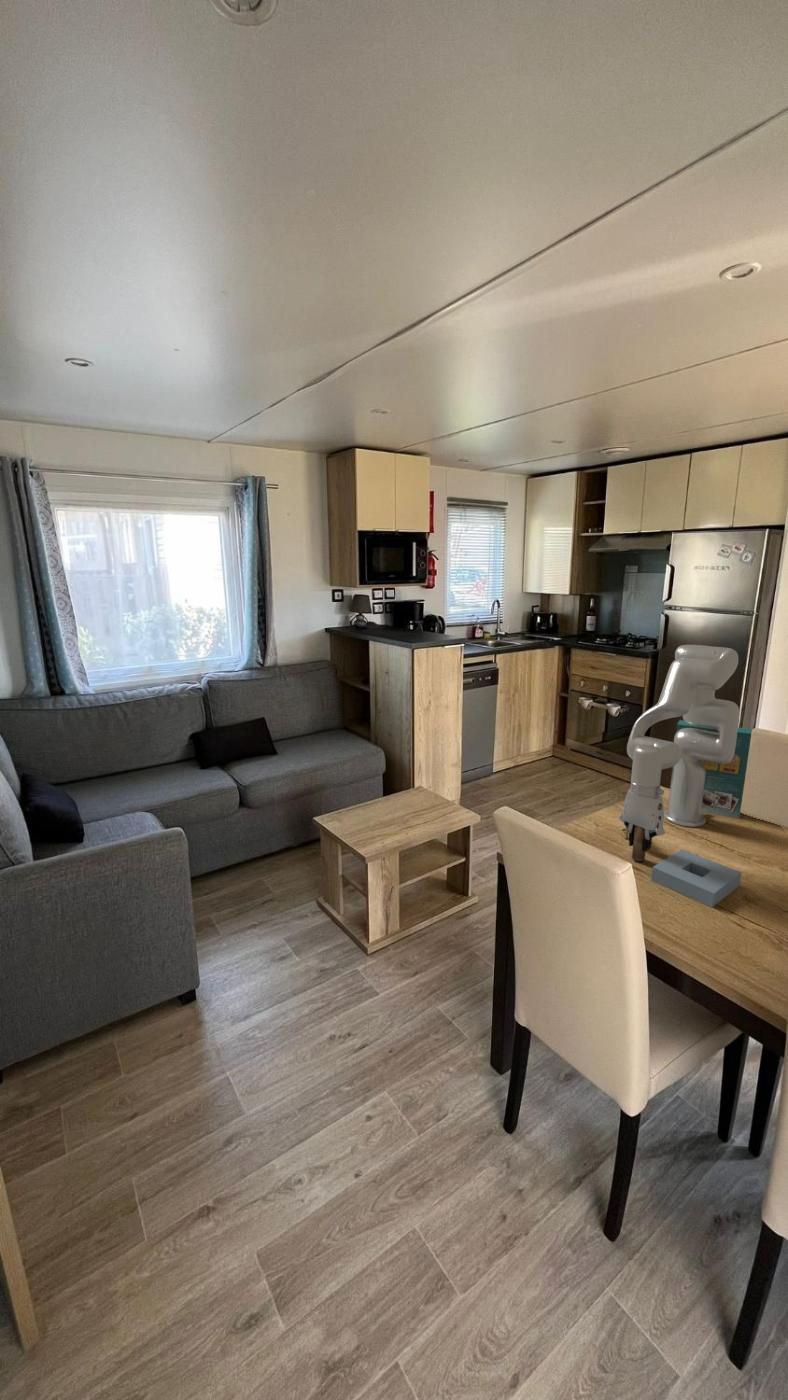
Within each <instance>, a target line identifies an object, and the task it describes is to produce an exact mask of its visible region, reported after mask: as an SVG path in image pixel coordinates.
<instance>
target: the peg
mask: <svg viewBox="0 0 788 1400" xmlns="http://www.w3.org/2000/svg"><path fill="white" fill-rule="evenodd" d="M644 838H645V829H644V828H642V827H639V826H636V825H635V830H634V841H633V846H632V853H631V858H632V860H634V861H636V862H644V861H645V859H646V851H645V852H644V851H642V845H643V839H644Z"/></svg>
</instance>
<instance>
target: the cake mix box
mask: <svg viewBox="0 0 788 1400" xmlns="http://www.w3.org/2000/svg"><path fill="white" fill-rule="evenodd" d="M683 728H694V729H700V730H705V731H710V732H715V733H719V732H718V730H716V729H712V728H706V727H701V726H695V725H691V724H688V723H686V722H685V721H684V720H683V719H682V720H681V719H679V721H678V722H677V725H676V733H677V732H678V731H679V730H680V729H683ZM752 733H753V729H752V728H744V727H738V732H737V740H736V747H735V753H734V756H733V759H732V760H731V762H729V763H727V764H719V763H714V762H709V761H705V760H701V761H702V763H703V764H704V766H705V769H706V779H705V787H704V795H703V803H704V805H705V807H704V808H702V811H701V812H703V813H704V812H705V813H710V814H715V815H721V816H725V817H730V818H734V819H740V816H741V809H742V802H743V796H744V795H743V794H744V788H745V783H746V782H745V781H746V776H747V775H746V774H747V769H748V763H749V762H748V761H749V753H750V747H751V740H752ZM673 774H674V766H673V767H672V768H671V778H670V787H669V794H668V795H669V796H668V805H669V806H670V800H671V792H672V783H673Z"/></svg>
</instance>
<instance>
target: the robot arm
mask: <svg viewBox="0 0 788 1400" xmlns="http://www.w3.org/2000/svg"><path fill="white" fill-rule="evenodd" d="M674 659H675V660H673V661H672V663H671V664H670V666H669V668H668V672H667V674H666V677H665V681H664V684H663V687H662V690H661V693H660V696H659V698H658V702H656V704H655V705H653V706H652V707H650V708H649V709H647V710H646V711H644V712H643V713H642V714H640V716H639V717H638V718H637V719H636V721H635V722H634V724H633V725H632V729H631V731H630V735H629V737H628V741H627V743H626V753H627V755H628V757H629V758H630V759H631V760H632V766H631V777H630V778H631V779H630V788H628V790H627V793H626V796H625V800H624V803H623V811H622V813H621V814H620V815H619V817H618V819H619V820H620V821H621V822H622V823H623V824H624V826H625V828H626V827H627V829H628V830H627V831H628V846H629V847H633V841H634V830H635V825H636V826H639V827H642V828H644V829H645V838H644V839H643V845H642V851H644V852H645V853H646V852H647V851H648V850H650V849H651V848H652V843H653V842H652V841H653V838H654V837H660V836H663V835H665V834H666V830H665V828H664V826H663V825H664V818H665V819H666V820H667V821H668V822H671V823H673V824H675V825H678V826H683V827H694V828H695V827H696V828H697V827H701V826H703V825H705V824H706V820H707V819H706V817H705V816H704V815H703V813H702V812H703V811H702V808H704V807H705V805H704V803H703V795H704V787H705V779H706V769H705V766H704V764H703V763H702V761H701V760H705V761H709V762H714V763H719V764H727V763H729V762H731V760H732V759H733V756H734V753H735V747H736V740H737V732H738V728H739V723H740V708H739V706H738V704H737V703H736V702H734V701H731V700H727V699H726V700H725V699H720V698H716V697H715V695H716V694H715V693H716V691H717V690H719V689H720V688H722V687H723V686H724V685H725V683H727V681H728V680H729V679H730V678H731V677H732V676H733V675H734V673H735V672H736V669H737V667H738V666H739V654H738V652H737V651H736V650H734V649H733V648H730V647H722V646H711V645H700V644H681V645H679V646H678V647H677V648H676V650H675V652H674ZM678 717H682V721H685V722H686V723H688V724H691V725H695V726H701V727H706V728H712V729H716V730H718V732H719V733H715V732H710V731H705V730H700V729H694V728H683V729H680V730H679V731H678V732H677V731H676V733H675V735H674V736H673V737H674V738H673V741H670V740H669V741H668V740H663V739H660V738H655V737H650V736H646V735H645V733H646V732H647V731H648V729H649V728H650V727H652V726H653V725H654V724H656V723H658V722H661V721H664V720H668V719H672V718H678ZM673 766H674V774H673V783H672V792H671V800H670V805H669V808H667V809H664V801H663V799H664V798H663V795H664V793H665V790H663V789H662V788H661V778H662V770H666V769H670V768H671V769H672V768H673ZM655 830H656V831H655Z"/></svg>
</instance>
